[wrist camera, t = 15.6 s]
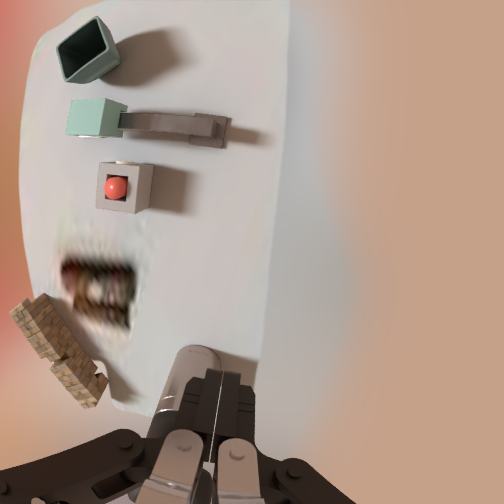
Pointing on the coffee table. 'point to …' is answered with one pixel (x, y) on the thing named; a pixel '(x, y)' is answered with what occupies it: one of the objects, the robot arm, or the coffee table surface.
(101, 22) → the flower pot
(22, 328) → the block tower
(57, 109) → the coffee table surface
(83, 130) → the carriage
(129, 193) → the cabinet
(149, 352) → the coffee table surface
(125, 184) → the button
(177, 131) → the handrail
